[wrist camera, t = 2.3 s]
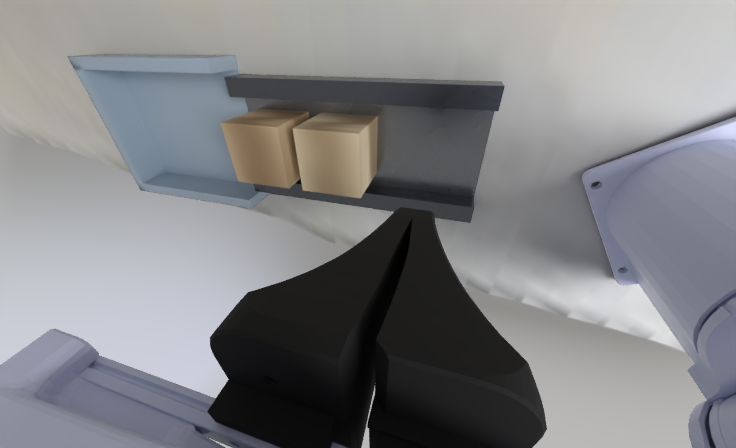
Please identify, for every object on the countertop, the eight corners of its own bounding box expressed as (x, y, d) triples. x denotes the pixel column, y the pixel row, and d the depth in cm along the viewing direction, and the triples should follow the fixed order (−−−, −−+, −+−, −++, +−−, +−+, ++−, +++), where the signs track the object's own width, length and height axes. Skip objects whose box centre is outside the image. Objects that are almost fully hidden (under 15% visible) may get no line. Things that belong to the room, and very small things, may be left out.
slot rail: (500, 80, 15) (504, 85, 14) (469, 207, 20) (470, 222, 19) (243, 73, 19) (223, 76, 18) (269, 180, 24) (255, 191, 23)
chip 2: (377, 116, 18) (358, 133, 15) (377, 172, 20) (360, 198, 17) (321, 112, 19) (292, 128, 16) (327, 166, 21) (302, 190, 18)
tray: (239, 55, 19) (206, 58, 16) (271, 191, 25) (251, 208, 22) (111, 54, 22) (67, 56, 19) (168, 176, 28) (140, 190, 25)
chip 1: (308, 111, 19) (277, 127, 16) (315, 165, 21) (289, 188, 18) (258, 108, 20) (220, 122, 17) (270, 160, 22) (238, 181, 19)
